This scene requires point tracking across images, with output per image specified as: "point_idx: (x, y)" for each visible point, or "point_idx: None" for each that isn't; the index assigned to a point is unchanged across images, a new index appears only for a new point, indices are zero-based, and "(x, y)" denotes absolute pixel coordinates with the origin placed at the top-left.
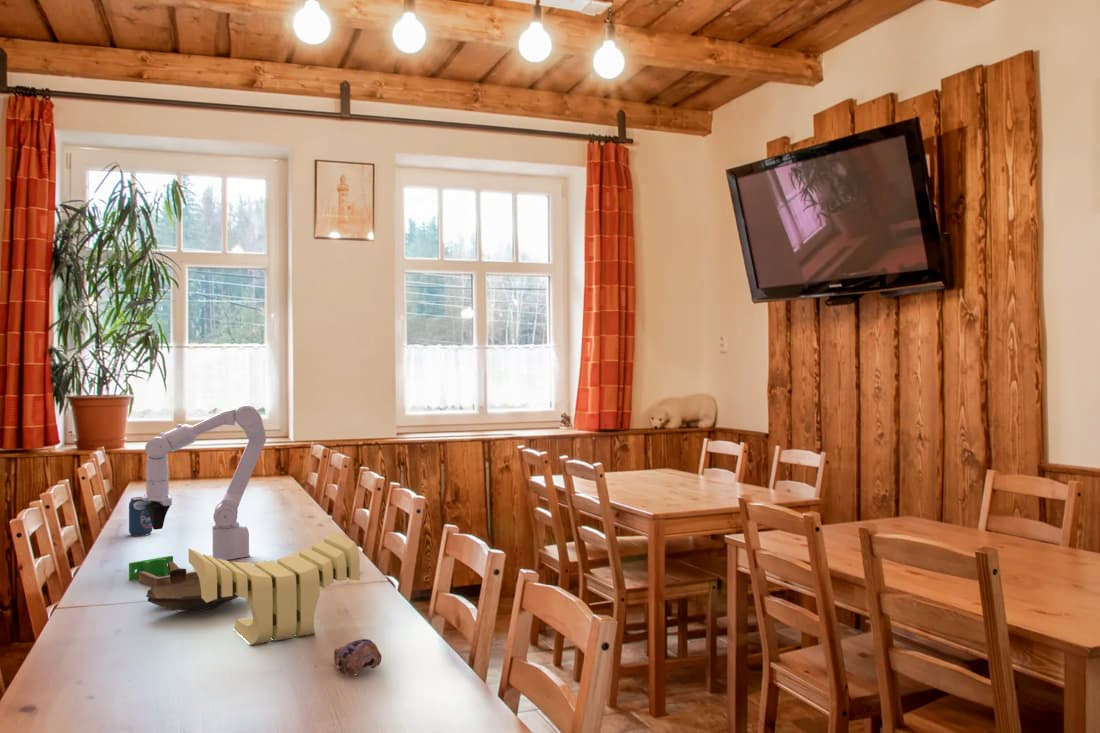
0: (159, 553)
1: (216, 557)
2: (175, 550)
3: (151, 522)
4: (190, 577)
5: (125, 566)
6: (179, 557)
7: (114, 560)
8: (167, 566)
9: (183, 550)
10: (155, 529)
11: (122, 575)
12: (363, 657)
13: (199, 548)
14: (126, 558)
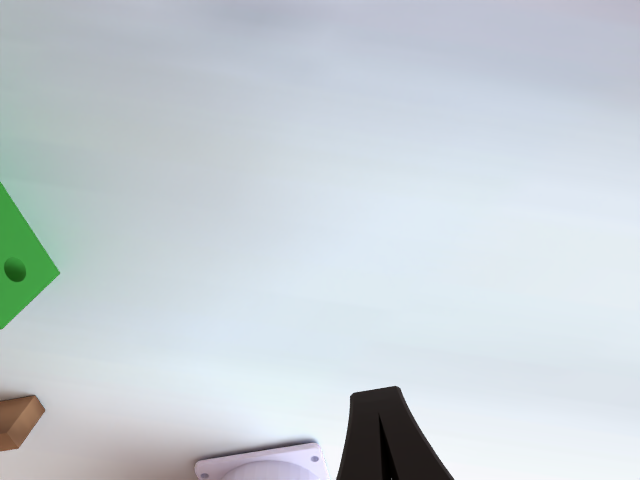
0: (602, 302)
1: (239, 469)
2: (609, 371)
3: (413, 433)
4: None
5: (363, 76)
6: (416, 359)
7: (625, 40)
8: (21, 273)
9: (575, 397)
10: (350, 397)
11: (65, 9)
12: None
13: (561, 450)
14: (622, 124)
